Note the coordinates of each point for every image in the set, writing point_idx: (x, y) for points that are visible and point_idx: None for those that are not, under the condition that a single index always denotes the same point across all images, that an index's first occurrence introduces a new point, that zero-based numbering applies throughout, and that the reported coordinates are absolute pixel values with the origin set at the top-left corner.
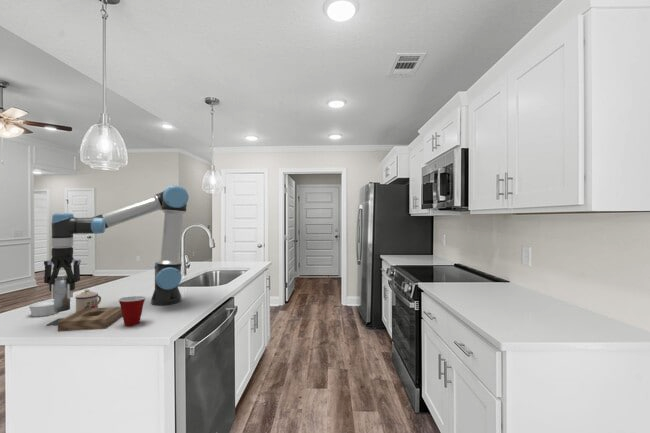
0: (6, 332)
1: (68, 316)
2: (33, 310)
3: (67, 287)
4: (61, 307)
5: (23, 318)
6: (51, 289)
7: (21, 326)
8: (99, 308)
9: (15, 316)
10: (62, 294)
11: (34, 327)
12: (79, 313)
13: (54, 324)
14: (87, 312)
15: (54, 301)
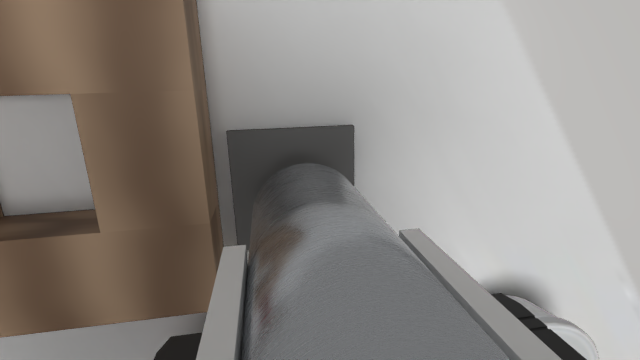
0: (511, 33)
1: (192, 116)
2: (544, 312)
3: (231, 352)
4: (283, 178)
5: (550, 271)
6: (492, 296)
7: (489, 135)
8: (76, 314)
9: (602, 303)
10: (286, 238)
11: (406, 105)
12: (154, 191)
13: (306, 128)
14: (100, 213)
15: (366, 201)
